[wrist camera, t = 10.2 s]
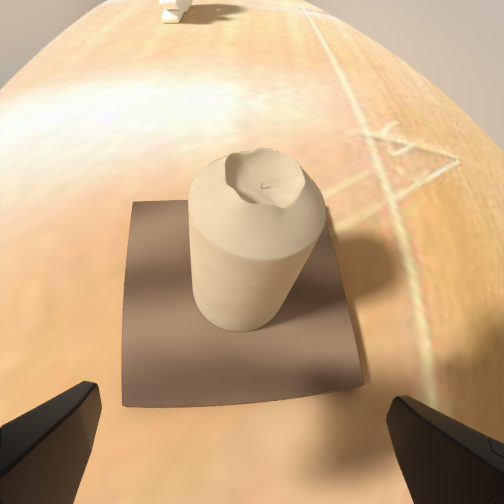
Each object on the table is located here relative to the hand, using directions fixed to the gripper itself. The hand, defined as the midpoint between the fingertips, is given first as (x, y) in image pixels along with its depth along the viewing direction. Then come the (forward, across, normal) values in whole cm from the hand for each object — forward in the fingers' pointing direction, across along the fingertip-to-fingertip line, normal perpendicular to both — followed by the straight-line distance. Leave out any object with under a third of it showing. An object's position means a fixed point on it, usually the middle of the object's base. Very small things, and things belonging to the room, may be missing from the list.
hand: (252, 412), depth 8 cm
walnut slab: (+13, 0, +1) cm, 13 cm away
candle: (+12, 0, +1) cm, 12 cm away
